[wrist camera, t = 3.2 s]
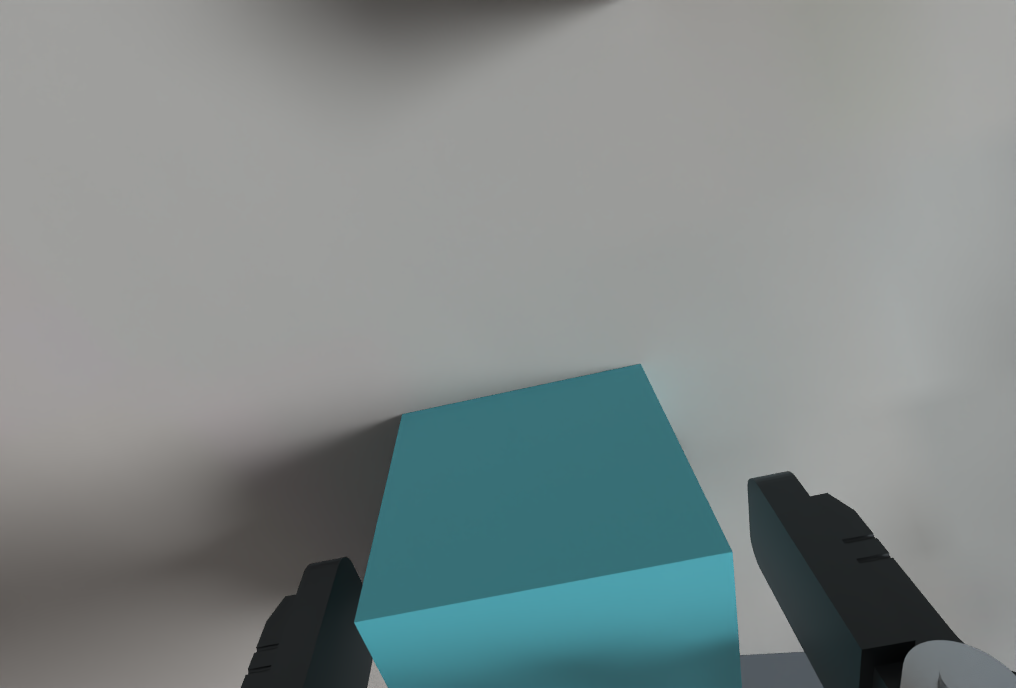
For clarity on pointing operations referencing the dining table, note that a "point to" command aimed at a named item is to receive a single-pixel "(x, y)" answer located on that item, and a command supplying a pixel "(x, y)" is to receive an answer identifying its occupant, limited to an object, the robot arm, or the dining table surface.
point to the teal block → (549, 547)
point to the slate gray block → (778, 671)
